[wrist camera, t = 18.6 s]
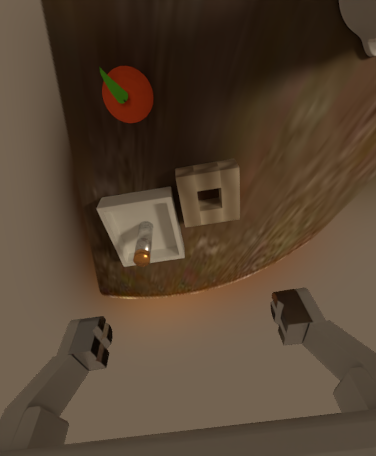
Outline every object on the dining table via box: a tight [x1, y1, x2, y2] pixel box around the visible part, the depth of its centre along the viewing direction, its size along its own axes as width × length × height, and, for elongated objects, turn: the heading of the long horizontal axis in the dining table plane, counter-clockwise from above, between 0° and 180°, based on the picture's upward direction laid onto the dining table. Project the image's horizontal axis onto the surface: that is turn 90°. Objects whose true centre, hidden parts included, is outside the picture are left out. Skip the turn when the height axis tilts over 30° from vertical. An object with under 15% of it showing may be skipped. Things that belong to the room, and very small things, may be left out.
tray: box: [96, 186, 185, 267], centre depth 48 cm, size 14×16×4 cm
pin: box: [133, 221, 153, 266], centre depth 45 cm, size 3×3×10 cm
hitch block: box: [175, 159, 240, 227], centre depth 44 cm, size 11×11×4 cm
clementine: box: [99, 66, 154, 123], centre depth 32 cm, size 8×7×7 cm
